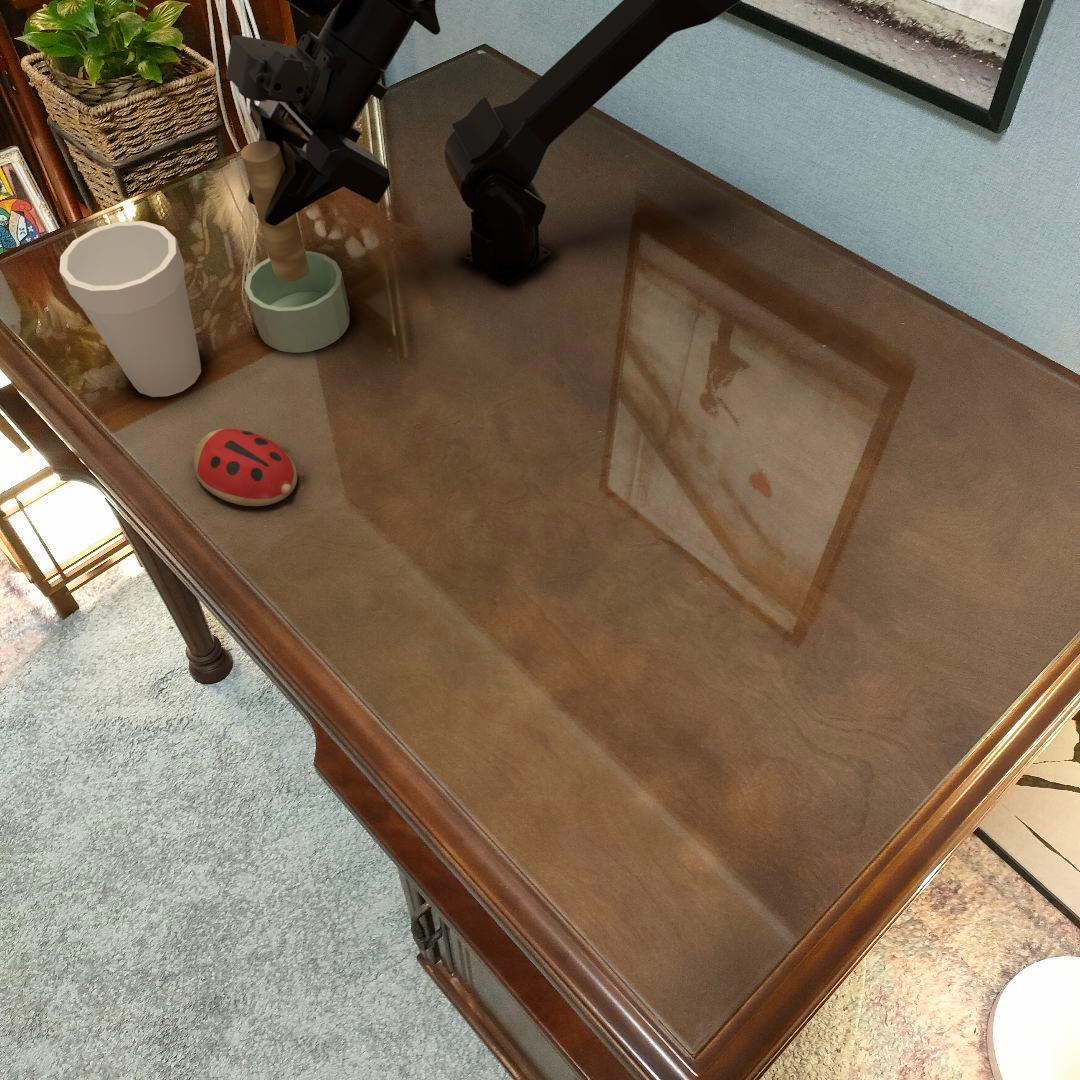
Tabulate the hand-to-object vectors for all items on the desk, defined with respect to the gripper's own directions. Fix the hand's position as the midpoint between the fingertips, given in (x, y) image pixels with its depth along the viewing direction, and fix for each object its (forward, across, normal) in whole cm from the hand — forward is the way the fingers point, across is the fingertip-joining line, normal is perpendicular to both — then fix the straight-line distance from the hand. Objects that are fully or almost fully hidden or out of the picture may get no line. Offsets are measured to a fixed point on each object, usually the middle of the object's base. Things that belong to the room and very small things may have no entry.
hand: (260, 213), depth 88 cm
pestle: (+4, 0, +6) cm, 7 cm away
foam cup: (+18, 0, 0) cm, 18 cm away
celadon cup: (+8, 0, +10) cm, 13 cm away
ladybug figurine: (+17, +16, +1) cm, 23 cm away
